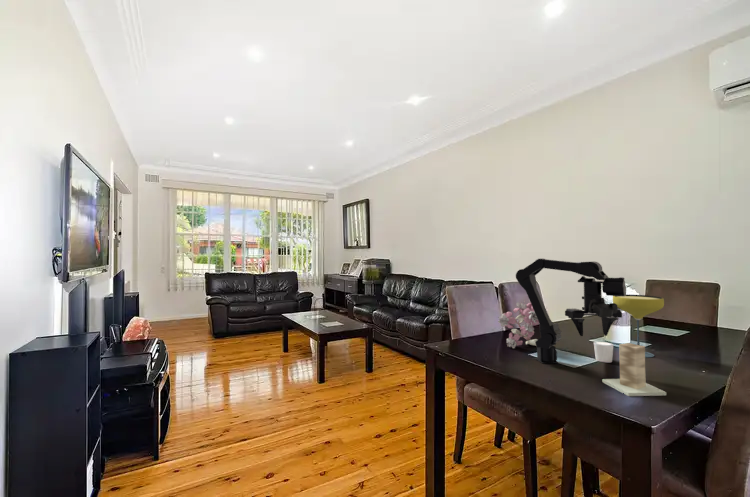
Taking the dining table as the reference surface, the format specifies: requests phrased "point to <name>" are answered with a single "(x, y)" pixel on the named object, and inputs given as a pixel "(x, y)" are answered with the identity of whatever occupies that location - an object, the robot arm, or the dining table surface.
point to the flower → (526, 330)
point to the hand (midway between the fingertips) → (593, 335)
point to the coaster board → (629, 391)
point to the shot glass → (603, 351)
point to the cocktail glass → (639, 308)
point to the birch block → (632, 365)
